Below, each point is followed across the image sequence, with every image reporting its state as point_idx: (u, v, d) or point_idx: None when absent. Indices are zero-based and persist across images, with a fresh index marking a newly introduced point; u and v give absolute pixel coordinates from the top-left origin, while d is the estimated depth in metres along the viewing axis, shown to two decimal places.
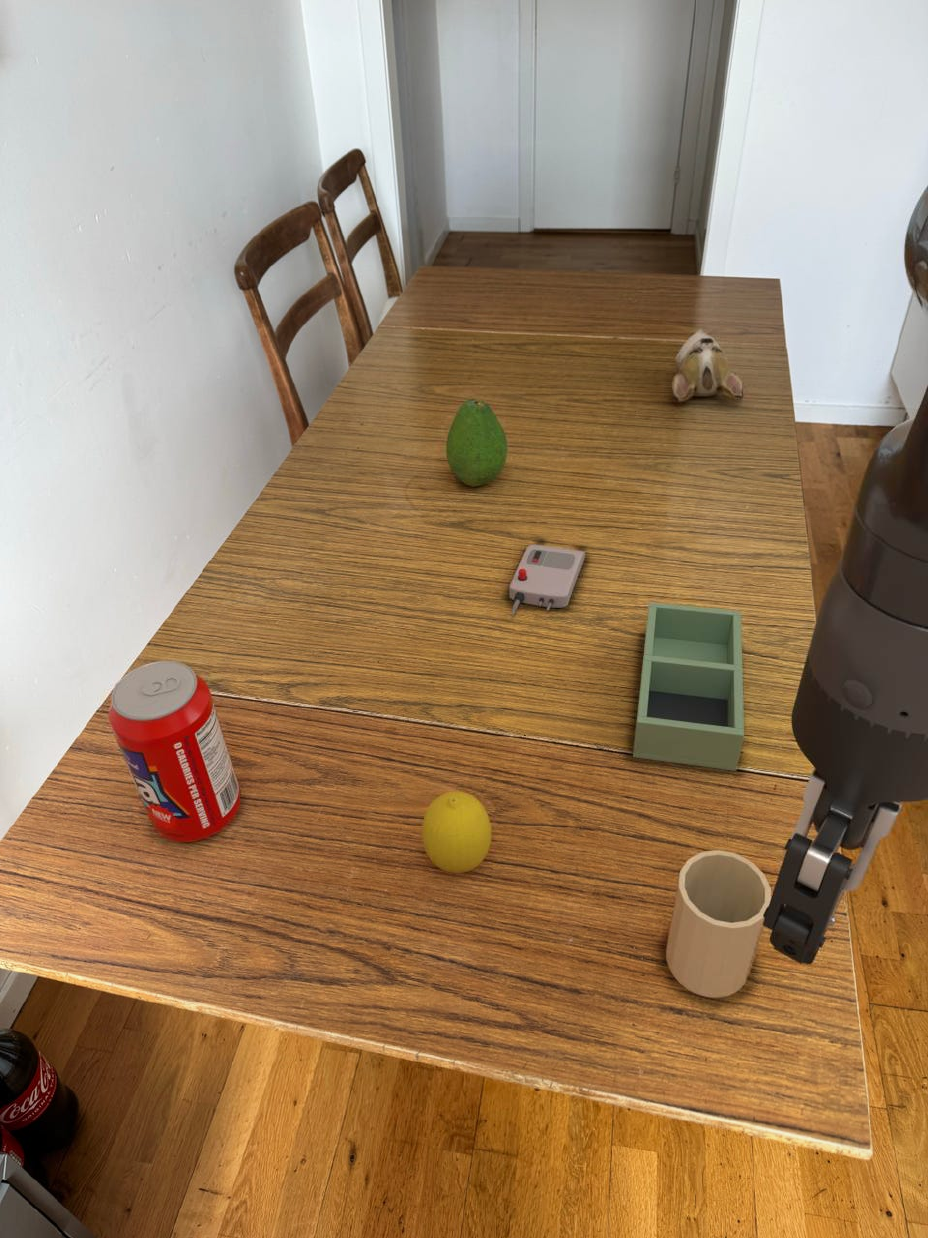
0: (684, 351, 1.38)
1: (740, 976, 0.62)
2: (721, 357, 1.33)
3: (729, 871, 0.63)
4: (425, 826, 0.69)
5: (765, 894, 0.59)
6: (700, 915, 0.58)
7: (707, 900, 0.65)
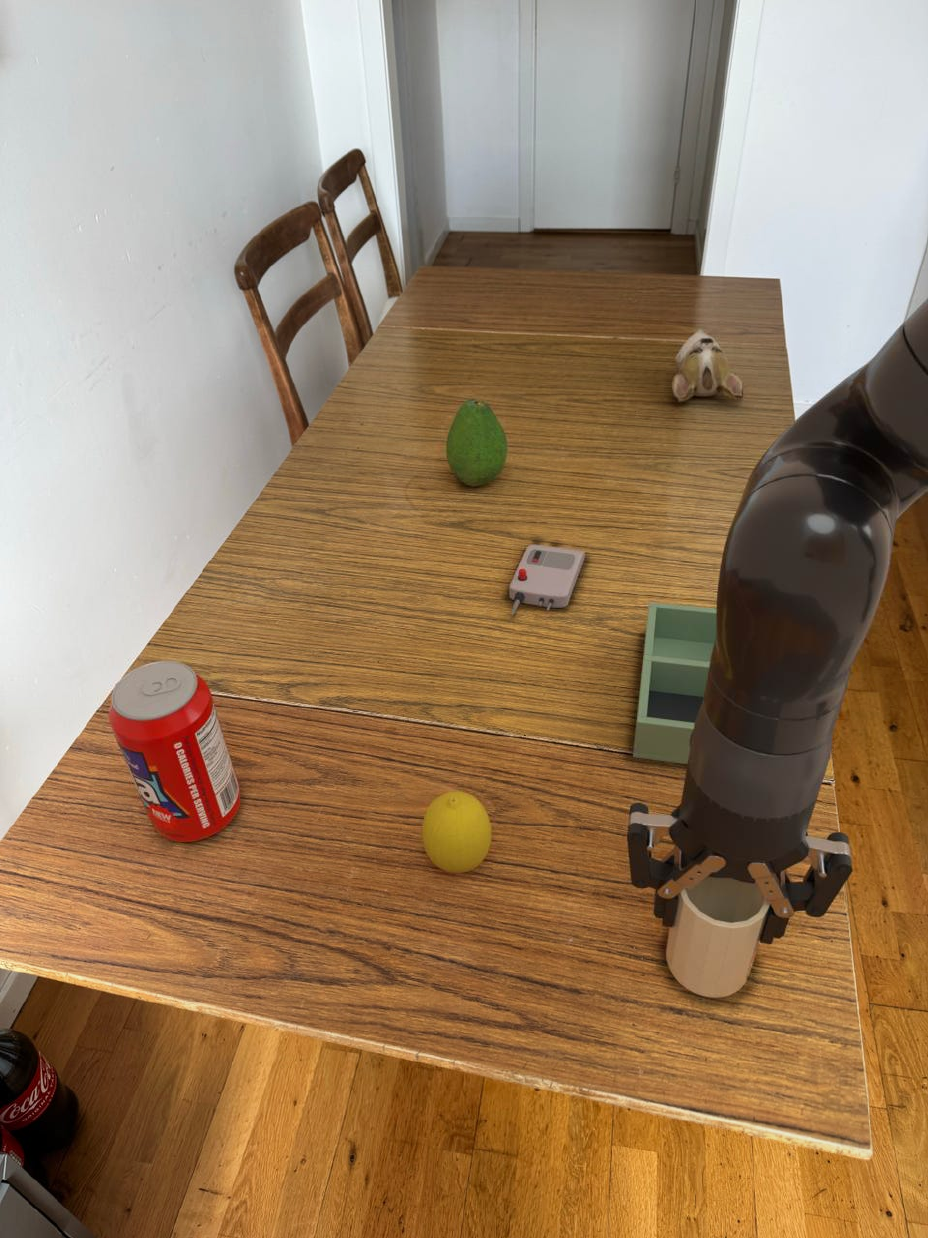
0: (684, 351, 1.38)
1: (740, 976, 0.62)
2: (721, 357, 1.33)
3: None
4: (425, 826, 0.69)
5: None
6: (699, 915, 0.58)
7: (707, 900, 0.66)
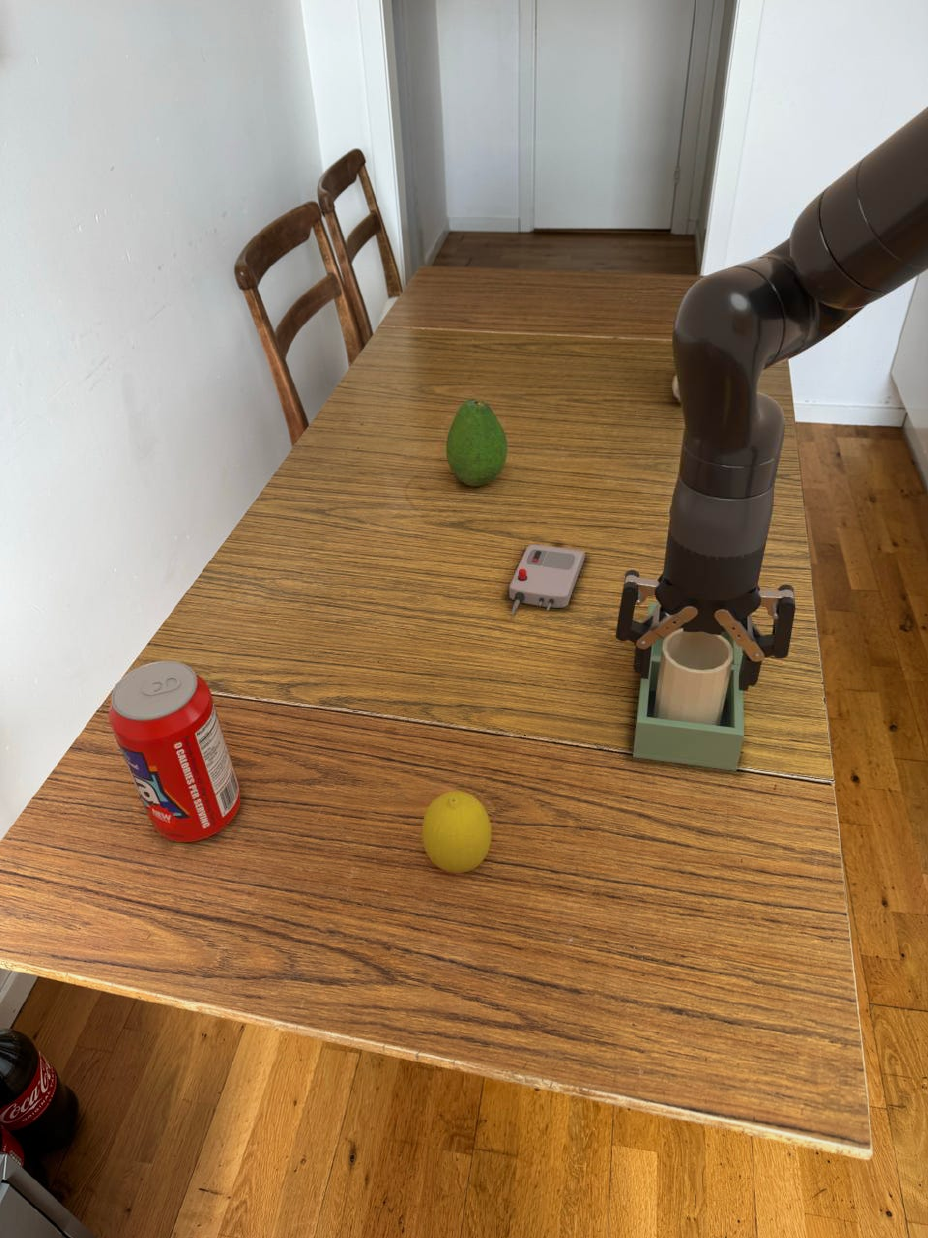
0: None
1: None
2: None
3: (702, 645, 0.80)
4: (425, 826, 0.69)
5: (729, 653, 0.77)
6: (678, 666, 0.76)
7: None
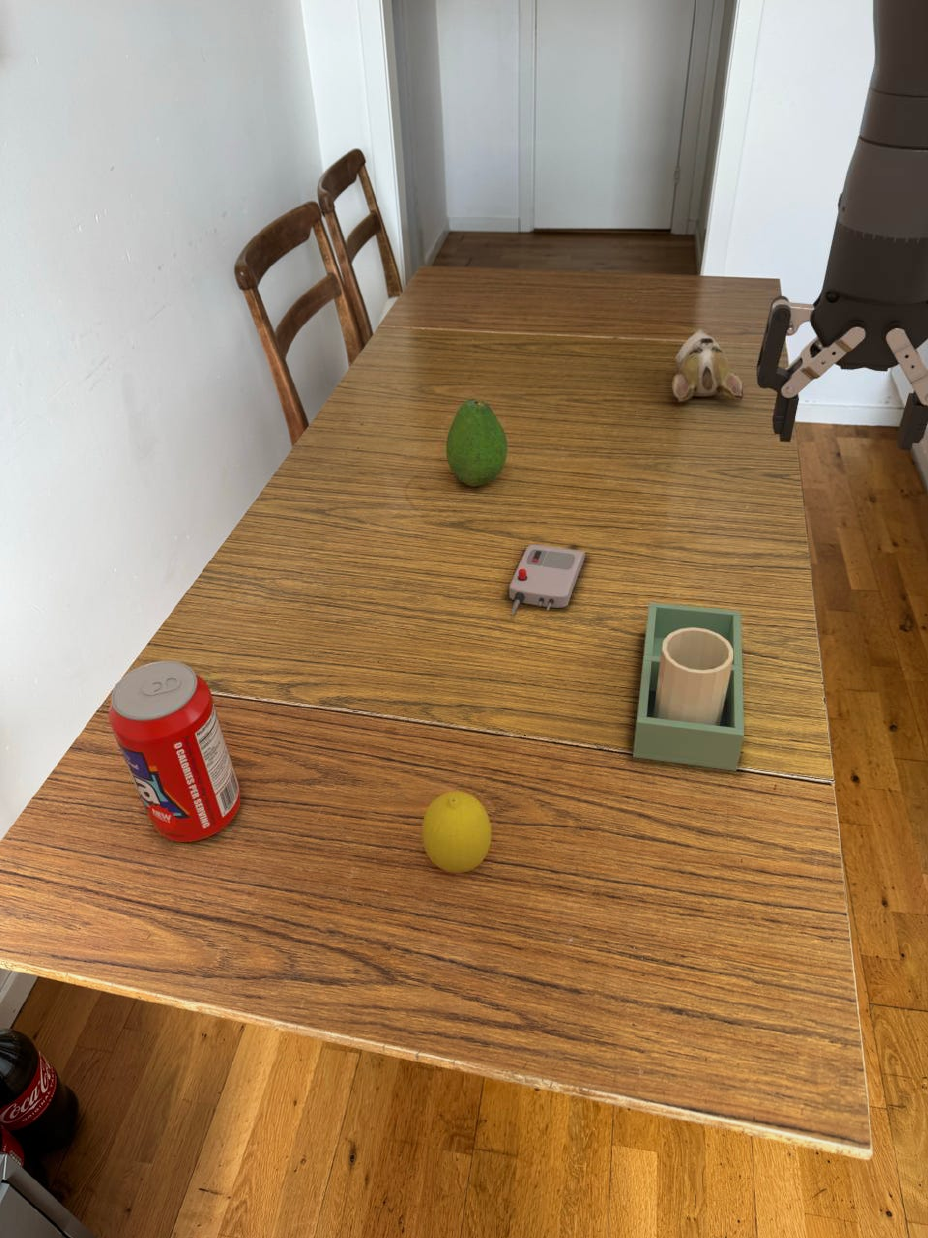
0: (684, 351, 1.38)
1: None
2: (721, 357, 1.33)
3: (702, 645, 0.80)
4: (425, 826, 0.69)
5: (729, 653, 0.77)
6: (678, 666, 0.76)
7: None
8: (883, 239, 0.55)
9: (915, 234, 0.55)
